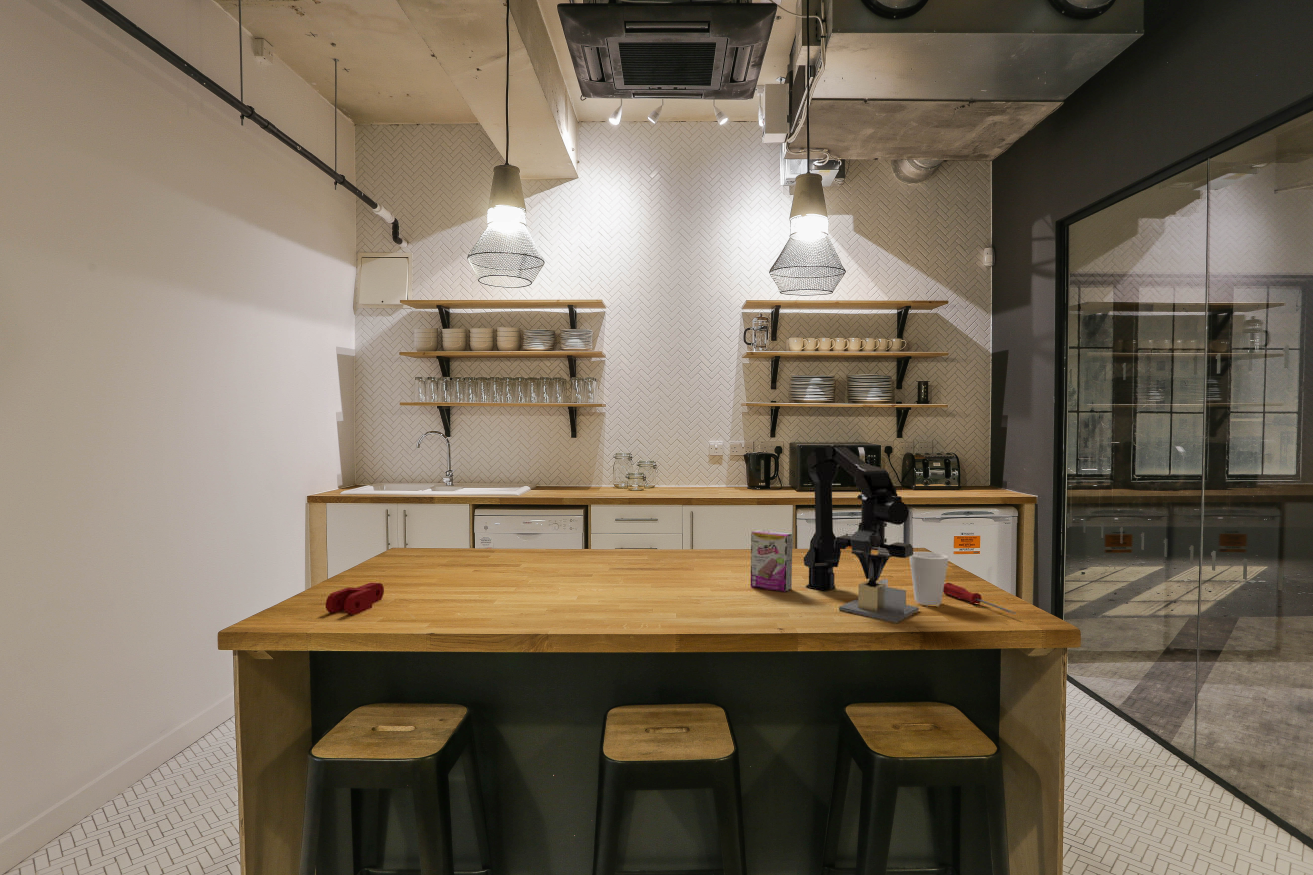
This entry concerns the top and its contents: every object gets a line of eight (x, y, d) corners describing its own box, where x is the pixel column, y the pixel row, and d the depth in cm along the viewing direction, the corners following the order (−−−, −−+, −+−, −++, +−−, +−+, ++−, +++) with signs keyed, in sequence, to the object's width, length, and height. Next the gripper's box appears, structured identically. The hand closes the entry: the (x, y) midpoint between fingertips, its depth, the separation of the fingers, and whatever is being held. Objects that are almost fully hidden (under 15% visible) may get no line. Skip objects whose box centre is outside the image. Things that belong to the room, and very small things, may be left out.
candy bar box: (749, 587, 188) (750, 531, 188) (756, 583, 192) (757, 529, 192) (786, 593, 182) (786, 535, 182) (792, 589, 186) (793, 532, 186)
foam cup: (906, 605, 171) (907, 556, 170) (910, 597, 179) (911, 550, 179) (946, 610, 166) (946, 560, 166) (948, 601, 174) (949, 553, 174)
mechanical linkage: (350, 617, 157) (350, 597, 157) (325, 615, 159) (325, 595, 159) (391, 600, 173) (391, 581, 173) (368, 598, 174) (368, 579, 174)
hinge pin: (866, 586, 164) (866, 554, 164) (869, 584, 166) (870, 553, 165) (874, 587, 163) (874, 556, 163) (877, 586, 164) (877, 554, 164)
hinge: (858, 607, 164) (858, 584, 164) (876, 599, 172) (877, 577, 172) (900, 616, 157) (901, 592, 157) (918, 607, 165) (918, 584, 165)
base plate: (839, 610, 165) (839, 606, 165) (863, 599, 175) (863, 596, 175) (896, 623, 155) (896, 618, 155) (918, 611, 165) (918, 607, 165)
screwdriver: (1008, 620, 158) (1009, 606, 158) (940, 594, 182) (941, 582, 182) (1020, 619, 159) (1021, 605, 159) (951, 593, 183) (951, 581, 183)
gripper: (824, 518, 164) (823, 578, 165) (896, 526, 152) (895, 592, 152) (844, 513, 173) (843, 571, 173) (914, 521, 160) (913, 583, 160)
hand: (872, 579), depth 164 cm, fingers closed on hinge pin, 2 cm apart
